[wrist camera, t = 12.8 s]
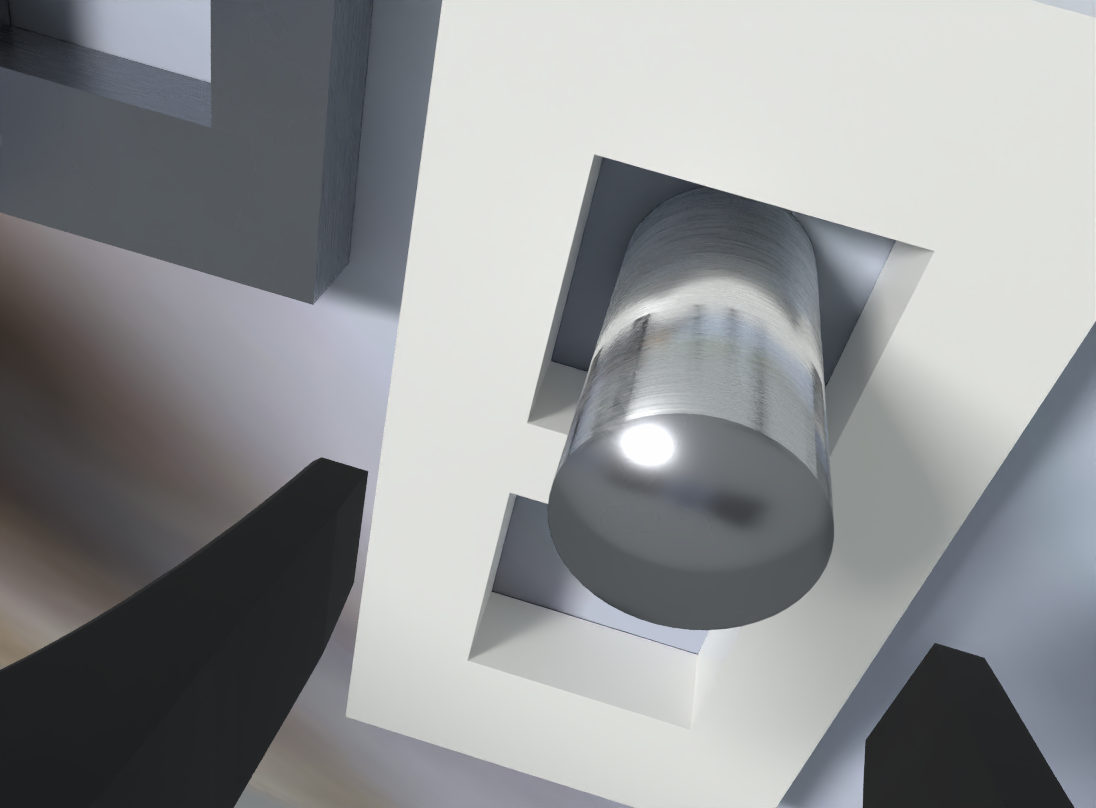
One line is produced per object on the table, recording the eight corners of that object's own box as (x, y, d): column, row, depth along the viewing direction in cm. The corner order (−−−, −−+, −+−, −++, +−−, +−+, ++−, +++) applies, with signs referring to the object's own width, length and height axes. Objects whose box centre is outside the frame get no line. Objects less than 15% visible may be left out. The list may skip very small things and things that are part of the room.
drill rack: (753, 767, 28) (751, 844, 26) (376, 649, 29) (345, 716, 27) (1202, 23, 15) (1265, 63, 13) (503, -166, 16) (463, -154, 14)
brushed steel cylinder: (784, 377, 21) (785, 657, 14) (607, 335, 21) (529, 590, 15) (844, 210, 18) (877, 455, 12) (644, 166, 19) (571, 381, 12)
